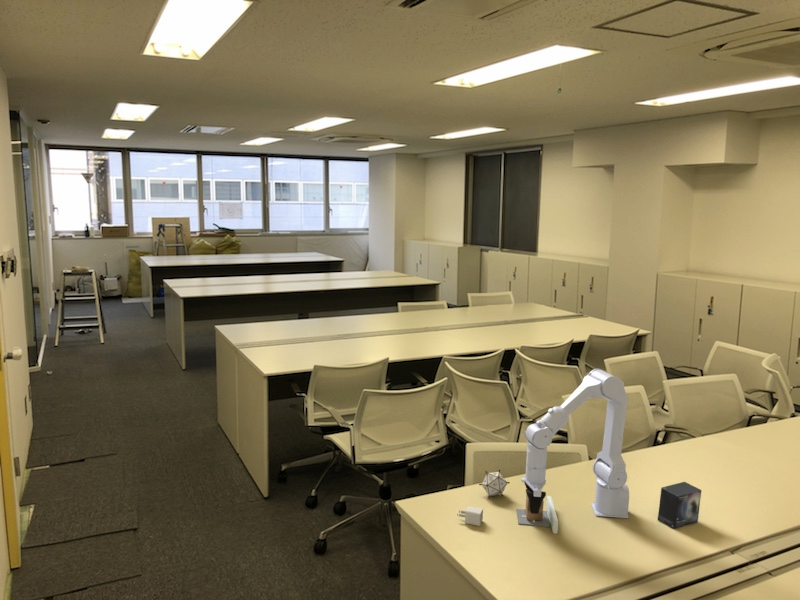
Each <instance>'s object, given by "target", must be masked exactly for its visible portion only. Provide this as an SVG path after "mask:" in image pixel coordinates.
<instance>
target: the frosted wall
mask: <svg viewBox="0 0 800 600" xmlns="http://www.w3.org/2000/svg"><path fill="white" fill-rule="evenodd" d="M545 505H546V511H547V515H548V519H549V523H550V527H551V529H552V533H553V534H555V535H556V534H558V531H559V520H558V517H557V513H556V510H555V505H554V501H553V498H552V496H551V495H546V503H545Z"/></svg>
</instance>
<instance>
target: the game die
mask: <svg viewBox="0 0 800 600" xmlns="http://www.w3.org/2000/svg"><path fill="white" fill-rule="evenodd" d="M484 472H485V476H484V478H483V480H482V482H481V483H479V484H478V486H482V488H483V489H484V490H485V492H486V493H487V495H488V497H487V499H490V498H491V497H493V496H500V495H501V497H504V494H503V493H504V491H505V489H506V486H507V485H508V484H510V483H511V482H510V481H507V480H506V479H505V478H504V476H503V474H502V473H501V468H499V469H498V471H491V472H490V471H489V472H488V471H486V470H485V471H484Z"/></svg>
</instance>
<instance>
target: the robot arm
mask: <svg viewBox="0 0 800 600" xmlns="http://www.w3.org/2000/svg"><path fill="white" fill-rule="evenodd" d="M627 394H628V393H627V392H626V390H625V383H624V381H623V380H622V379H620V378H619V377H618V376H615V375H613V374H611V373H609V372H606V371H605V370H604V369H601V368H594V369H592V370H591V371H589V373H588V374H586V375H585V376H584V377H583V379H582V382H581V383H580V385H578V387H577V388H576V389H575V390H574V391H573V392H572V393H571V394H570V395H569V396H568V398H566V400H565V401H564V402H562V403H561V405H560V406H557V405H556V406H553V407H550V408H549V409H548V410H547V412H546V414H544V415H543V416H542V417H541V418H540V419H539V420H536V422H535V423H531V424H530V425H528V426H527V428H526V430H525V431H524V432H523V436H524V438H525V439H526V441H527V442H526V446H527V447H526V458H525V459H526V460H525V462H526V463H525V477H524V476H523V477H521V478H520V480H521V483H523V484H524V485H525V494H527V496H528V498H529V505H530V512H531V513H533V514H538V512H539V509H540V506H541V503H542V501H544V499H546V498H545V497H547V492H546V491H543V490H544V487H545V485H546V484H547V483H546V482H547V480H546V474H547V473H546V472H547V470H546V469H547V457H548V446H550V445H551V443H552V441H553V438H554V436H555V434H557V433H558V431H560V430H561V429H562V428H563V427H564V426H565V425H566V424H568V422H569V416H570V415H571V414H572V413H573V412H575V411H576V410H577V409H578V408H580V406H582V405H583V404H585V403H586V402H587V401H588V400H589V399H603V398H604V399H605V400H606V401H607V404H606V414H605V423H604V431H603V441H602V449H601V451H599V452H598V453H597V454H596V459H595V461H594V462H593V464H592V465H593V466H592V471H593V473H594V474H595V479H596V483H595V497H594V502H590V506H591V507H592V510H593V513H594V515H595V516H596V517H603V518H604V517H605V518H606V517H608V518H620V519H628V518H629V504H630V490H629V486H628V484H626V483H627V481H628V473H627V471H626V466H627V465H626V462H625V460H624V458H623V456H622V451H623V450H622V449H623V442H624V433H625V432H624V431H625V425H626V418H627V417H626V416H627V408H628V400H629V398H628V395H627Z"/></svg>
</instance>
